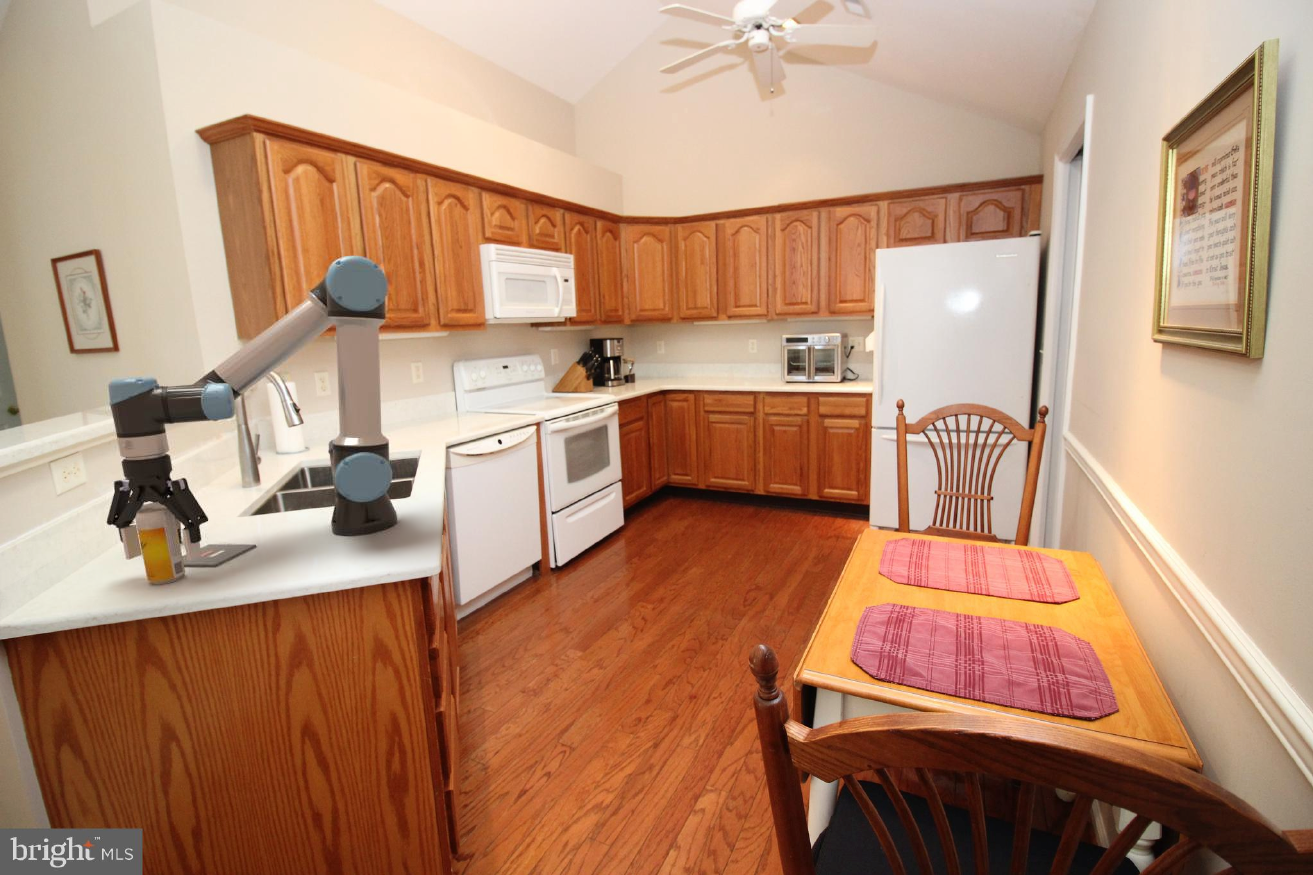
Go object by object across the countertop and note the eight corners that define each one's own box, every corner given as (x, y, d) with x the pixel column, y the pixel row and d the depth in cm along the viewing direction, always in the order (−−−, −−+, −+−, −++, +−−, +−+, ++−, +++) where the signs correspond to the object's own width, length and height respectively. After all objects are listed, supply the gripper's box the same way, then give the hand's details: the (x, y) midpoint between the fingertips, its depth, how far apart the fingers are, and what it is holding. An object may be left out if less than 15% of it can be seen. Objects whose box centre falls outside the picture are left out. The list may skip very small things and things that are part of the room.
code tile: (256, 546, 144) (256, 544, 144) (215, 567, 132) (214, 564, 132) (209, 546, 145) (209, 543, 145) (164, 566, 133) (163, 563, 133)
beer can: (162, 574, 129) (148, 505, 126) (192, 572, 130) (179, 503, 127) (140, 586, 123) (126, 514, 120) (172, 584, 124) (158, 512, 121)
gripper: (69, 460, 120) (91, 563, 123) (187, 459, 117) (205, 565, 121) (107, 452, 127) (126, 550, 131) (218, 451, 124) (234, 551, 128)
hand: (164, 557), depth 126 cm, fingers open, 13 cm apart
